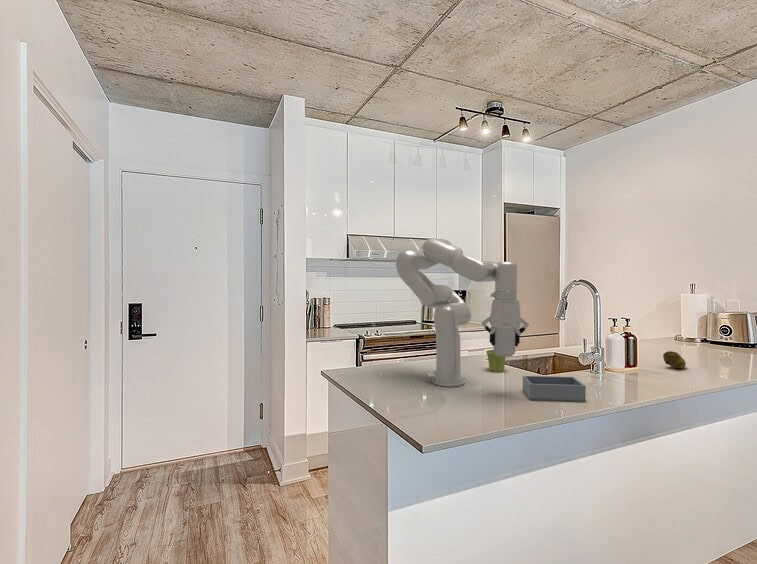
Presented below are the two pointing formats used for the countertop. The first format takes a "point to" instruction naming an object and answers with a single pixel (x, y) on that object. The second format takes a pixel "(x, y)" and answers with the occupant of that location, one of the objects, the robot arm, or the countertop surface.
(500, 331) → the can
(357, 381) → the countertop surface
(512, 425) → the countertop surface
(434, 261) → the robot arm
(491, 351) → the plant pot
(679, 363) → the avocado
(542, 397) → the tote
